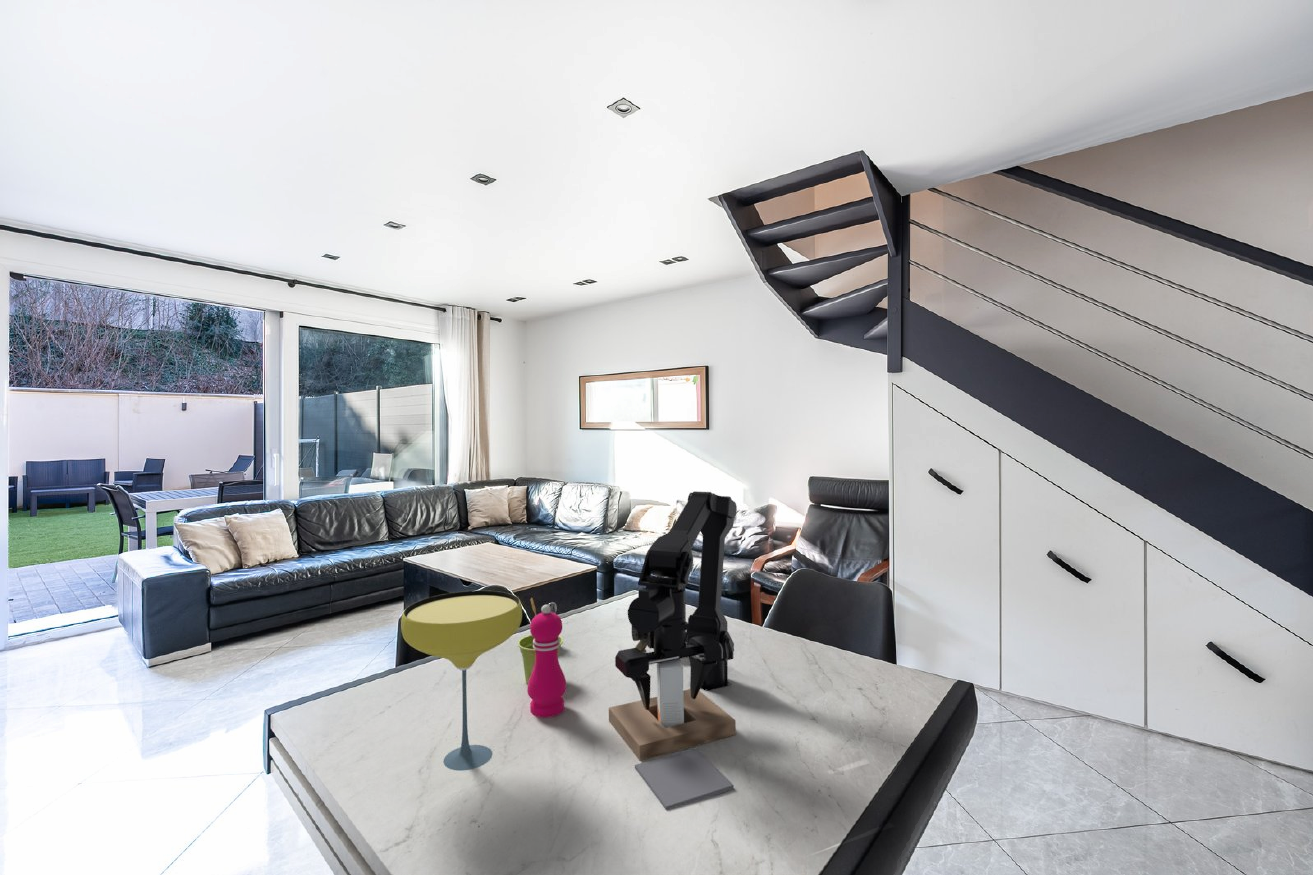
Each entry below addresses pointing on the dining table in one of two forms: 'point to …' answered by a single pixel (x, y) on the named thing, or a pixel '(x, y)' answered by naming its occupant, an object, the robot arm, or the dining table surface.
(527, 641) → the plant pot
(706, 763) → the coaster
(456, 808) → the dining table surface
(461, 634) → the cocktail glass
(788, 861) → the dining table surface
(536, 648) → the pepper mill
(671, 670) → the skincare box
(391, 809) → the dining table surface
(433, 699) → the dining table surface
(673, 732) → the holder block
